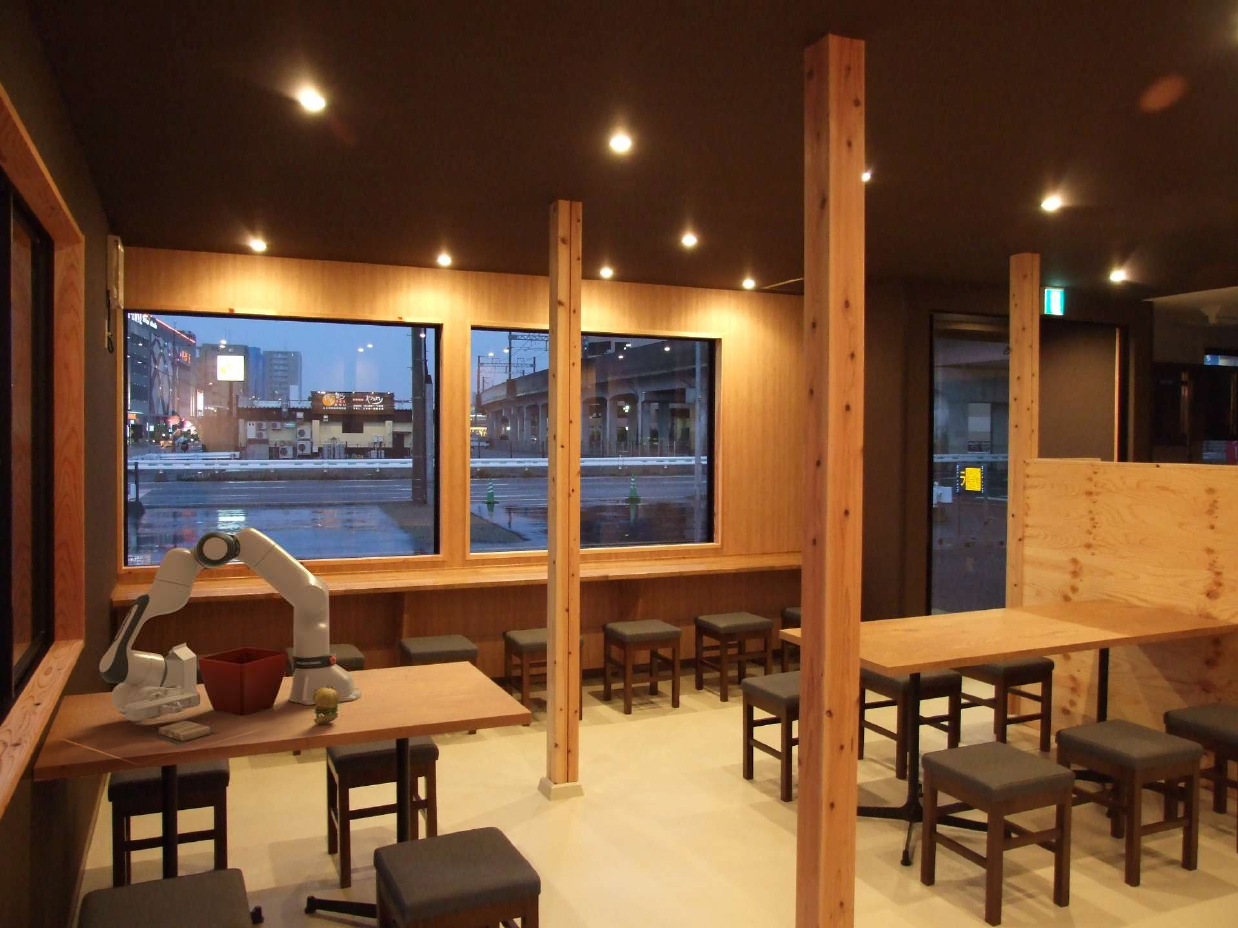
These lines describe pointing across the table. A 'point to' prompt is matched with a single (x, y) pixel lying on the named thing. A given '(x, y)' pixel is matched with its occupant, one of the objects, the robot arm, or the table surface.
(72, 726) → the table surface
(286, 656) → the plant pot
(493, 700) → the table surface
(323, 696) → the hamburger
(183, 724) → the picture frame
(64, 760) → the table surface
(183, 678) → the milk carton
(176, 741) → the mat
